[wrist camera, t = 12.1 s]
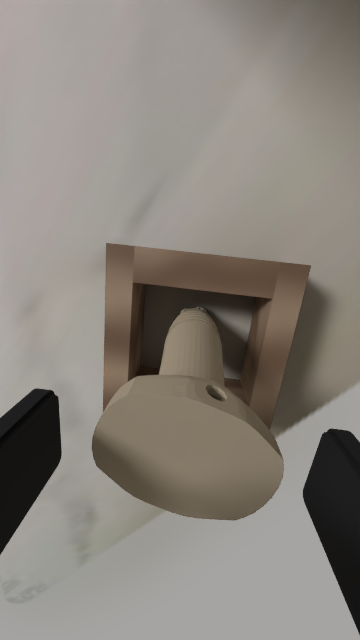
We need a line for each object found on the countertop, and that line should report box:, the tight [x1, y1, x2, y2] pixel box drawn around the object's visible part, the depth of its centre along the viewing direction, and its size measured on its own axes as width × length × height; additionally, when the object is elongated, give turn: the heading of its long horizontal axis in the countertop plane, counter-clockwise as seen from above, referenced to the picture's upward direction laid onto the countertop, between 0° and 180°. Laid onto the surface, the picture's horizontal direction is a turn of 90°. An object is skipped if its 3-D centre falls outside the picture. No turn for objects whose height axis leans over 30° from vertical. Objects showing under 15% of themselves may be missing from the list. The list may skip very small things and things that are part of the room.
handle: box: [92, 306, 284, 520], centre depth 15 cm, size 5×6×15 cm
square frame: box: [103, 243, 311, 430], centre depth 20 cm, size 14×14×4 cm
